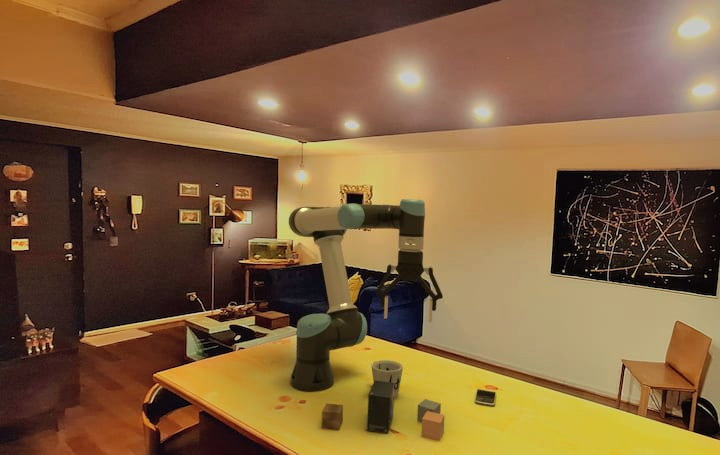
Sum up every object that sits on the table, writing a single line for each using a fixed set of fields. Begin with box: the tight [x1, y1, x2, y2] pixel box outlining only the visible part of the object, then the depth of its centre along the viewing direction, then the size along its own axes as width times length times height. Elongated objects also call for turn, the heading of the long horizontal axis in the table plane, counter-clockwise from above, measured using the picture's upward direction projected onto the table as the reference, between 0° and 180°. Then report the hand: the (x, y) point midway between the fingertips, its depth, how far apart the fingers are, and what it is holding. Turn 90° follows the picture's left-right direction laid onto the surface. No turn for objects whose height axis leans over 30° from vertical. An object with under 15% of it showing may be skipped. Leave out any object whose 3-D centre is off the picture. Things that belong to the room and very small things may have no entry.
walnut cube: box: [321, 402, 344, 431], centre depth 121 cm, size 5×5×5 cm
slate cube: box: [416, 398, 442, 424], centre depth 125 cm, size 5×5×5 cm
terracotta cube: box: [421, 411, 446, 442], centre depth 118 cm, size 5×5×5 cm
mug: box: [371, 359, 404, 399], centre depth 144 cm, size 10×15×10 cm
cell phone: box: [474, 388, 497, 408], centre depth 141 cm, size 6×11×1 cm, turn 160°
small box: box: [366, 380, 395, 434], centre depth 123 cm, size 11×6×10 cm, turn 168°
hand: (407, 319), depth 131 cm, fingers open, 13 cm apart
